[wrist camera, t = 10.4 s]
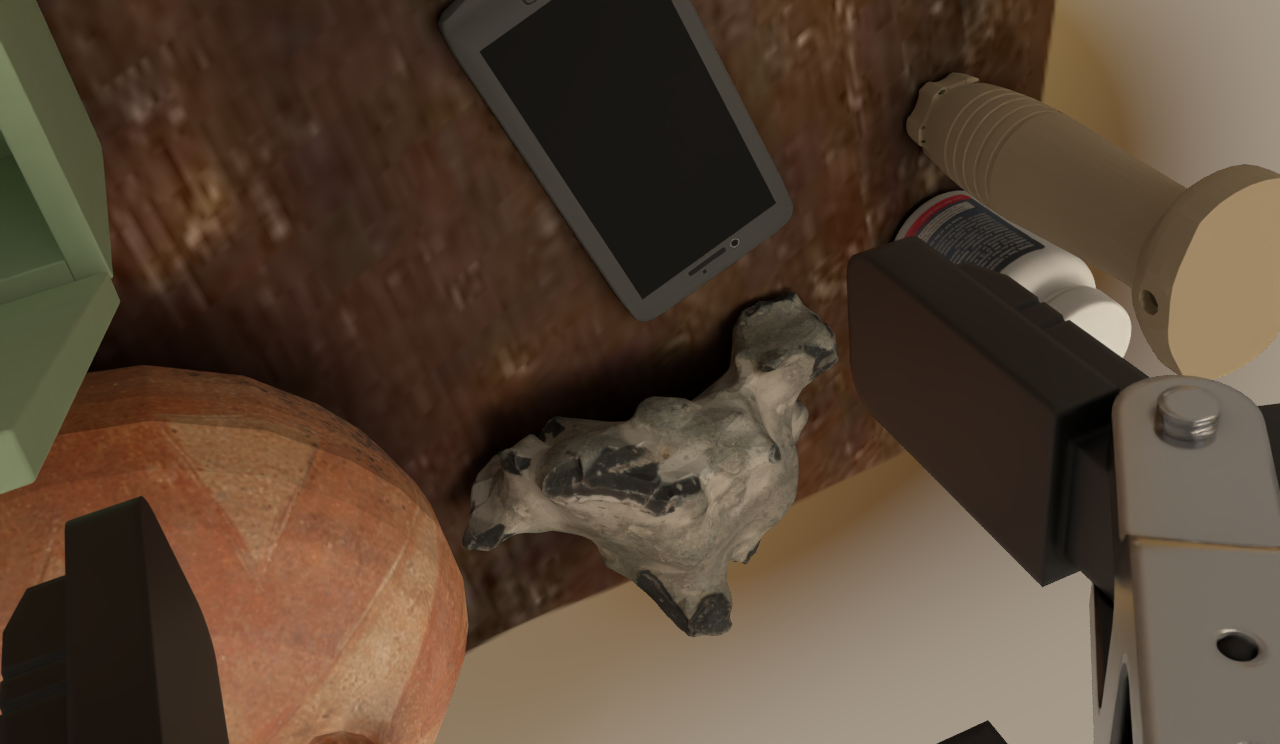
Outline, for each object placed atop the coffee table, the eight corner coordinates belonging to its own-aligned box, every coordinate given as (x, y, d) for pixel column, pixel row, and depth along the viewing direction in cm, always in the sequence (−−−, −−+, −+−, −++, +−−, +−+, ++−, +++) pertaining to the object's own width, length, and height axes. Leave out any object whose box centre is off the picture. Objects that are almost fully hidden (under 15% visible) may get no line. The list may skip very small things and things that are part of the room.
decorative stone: (796, 230, 45) (943, 418, 39) (814, 376, 53) (942, 556, 46) (400, 413, 44) (489, 641, 37) (474, 539, 51) (560, 749, 45)
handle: (990, 10, 45) (1321, 155, 33) (994, 165, 49) (1293, 343, 37) (876, 52, 44) (1176, 216, 32) (889, 206, 48) (1162, 404, 36)
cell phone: (622, -124, 37) (631, -119, 37) (792, 209, 46) (802, 216, 45) (426, 16, 37) (432, 23, 36) (634, 323, 46) (641, 332, 45)
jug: (316, 199, 39) (492, 605, 23) (461, 592, 49) (650, 1055, 34) (-311, 406, 35) (-613, 1066, 19) (-8, 786, 45) (-42, 1413, 30)
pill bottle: (865, 296, 50) (997, 409, 43) (916, 177, 47) (1064, 275, 41) (962, 312, 52) (1102, 421, 45) (1015, 199, 50) (1170, 295, 43)
